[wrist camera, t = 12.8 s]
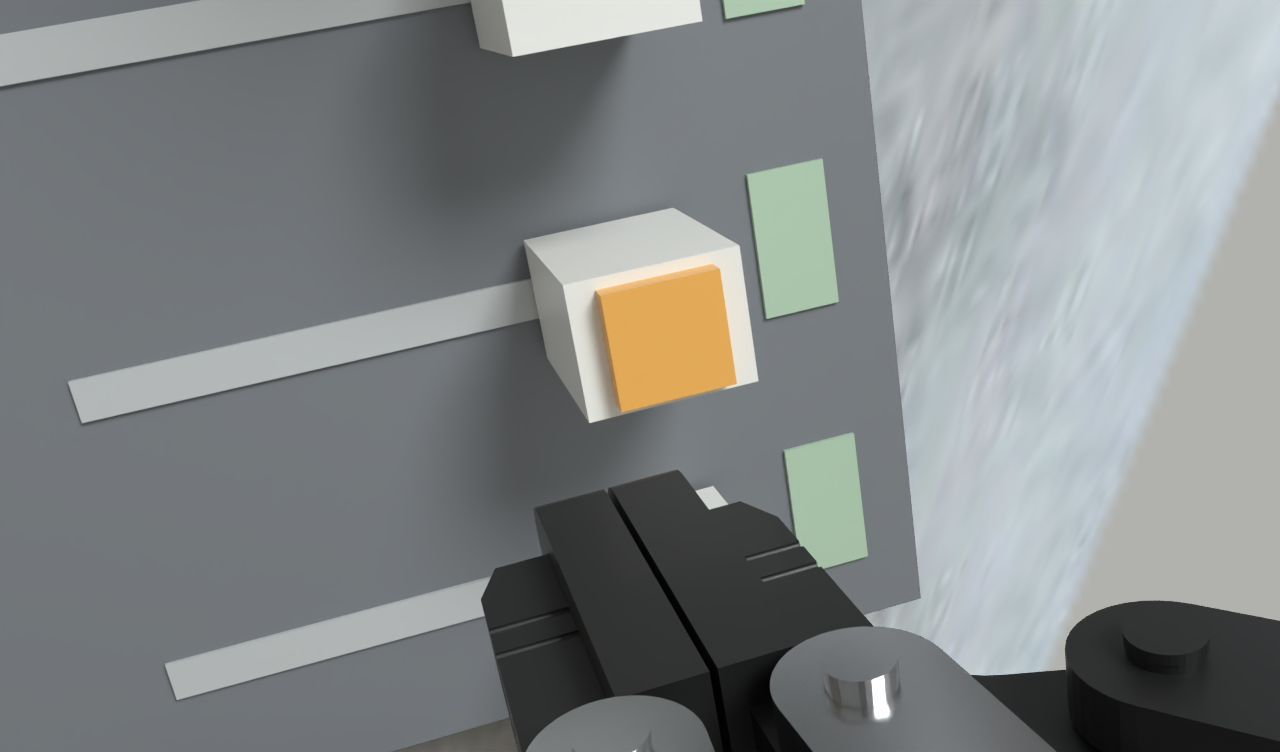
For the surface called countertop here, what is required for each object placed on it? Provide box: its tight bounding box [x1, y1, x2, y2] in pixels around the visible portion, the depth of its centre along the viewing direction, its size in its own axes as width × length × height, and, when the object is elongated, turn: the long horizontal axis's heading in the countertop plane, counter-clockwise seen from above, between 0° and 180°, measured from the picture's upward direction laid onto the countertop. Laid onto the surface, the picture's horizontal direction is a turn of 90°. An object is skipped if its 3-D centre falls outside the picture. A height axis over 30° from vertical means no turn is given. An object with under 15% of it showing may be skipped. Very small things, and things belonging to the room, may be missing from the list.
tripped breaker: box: [524, 208, 758, 423], centre depth 22 cm, size 2×3×4 cm
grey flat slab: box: [0, 0, 921, 752], centre depth 24 cm, size 18×20×3 cm
